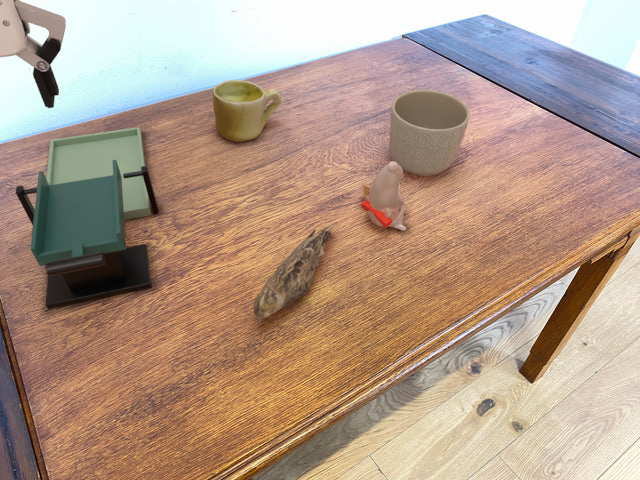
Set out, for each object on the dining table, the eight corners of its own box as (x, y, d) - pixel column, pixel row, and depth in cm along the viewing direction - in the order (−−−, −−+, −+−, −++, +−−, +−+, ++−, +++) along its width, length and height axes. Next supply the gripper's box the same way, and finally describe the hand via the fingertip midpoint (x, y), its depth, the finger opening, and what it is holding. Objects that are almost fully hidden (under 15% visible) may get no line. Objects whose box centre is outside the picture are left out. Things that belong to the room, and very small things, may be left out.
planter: (387, 185, 85) (395, 129, 78) (381, 142, 94) (389, 88, 86) (461, 187, 85) (477, 131, 78) (449, 144, 94) (462, 90, 86)
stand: (168, 284, 69) (156, 242, 63) (29, 313, 65) (2, 271, 60) (158, 207, 80) (146, 165, 74) (38, 228, 76) (16, 186, 70)
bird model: (285, 332, 60) (254, 304, 60) (263, 343, 65) (234, 317, 64) (360, 224, 73) (335, 200, 73) (338, 239, 78) (314, 217, 77)
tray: (151, 215, 79) (149, 207, 78) (45, 234, 75) (41, 226, 74) (141, 134, 94) (139, 126, 93) (53, 147, 91) (50, 139, 89)
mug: (209, 142, 89) (213, 84, 85) (209, 127, 98) (214, 74, 94) (278, 151, 92) (286, 94, 88) (273, 135, 101) (280, 84, 97)
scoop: (128, 274, 61) (120, 254, 58) (37, 293, 58) (25, 273, 56) (121, 176, 73) (115, 156, 71) (46, 188, 71) (37, 168, 69)
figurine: (420, 220, 79) (429, 165, 70) (390, 245, 77) (396, 191, 67) (377, 189, 84) (380, 134, 74) (348, 212, 81) (347, 158, 71)
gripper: (34, -99, 45) (89, 80, 57) (-199, -92, 41) (-86, 98, 53) (26, -74, 40) (89, 115, 52) (-239, -64, 36) (-105, 139, 49)
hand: (0, 106), depth 53 cm, fingers open, 9 cm apart
